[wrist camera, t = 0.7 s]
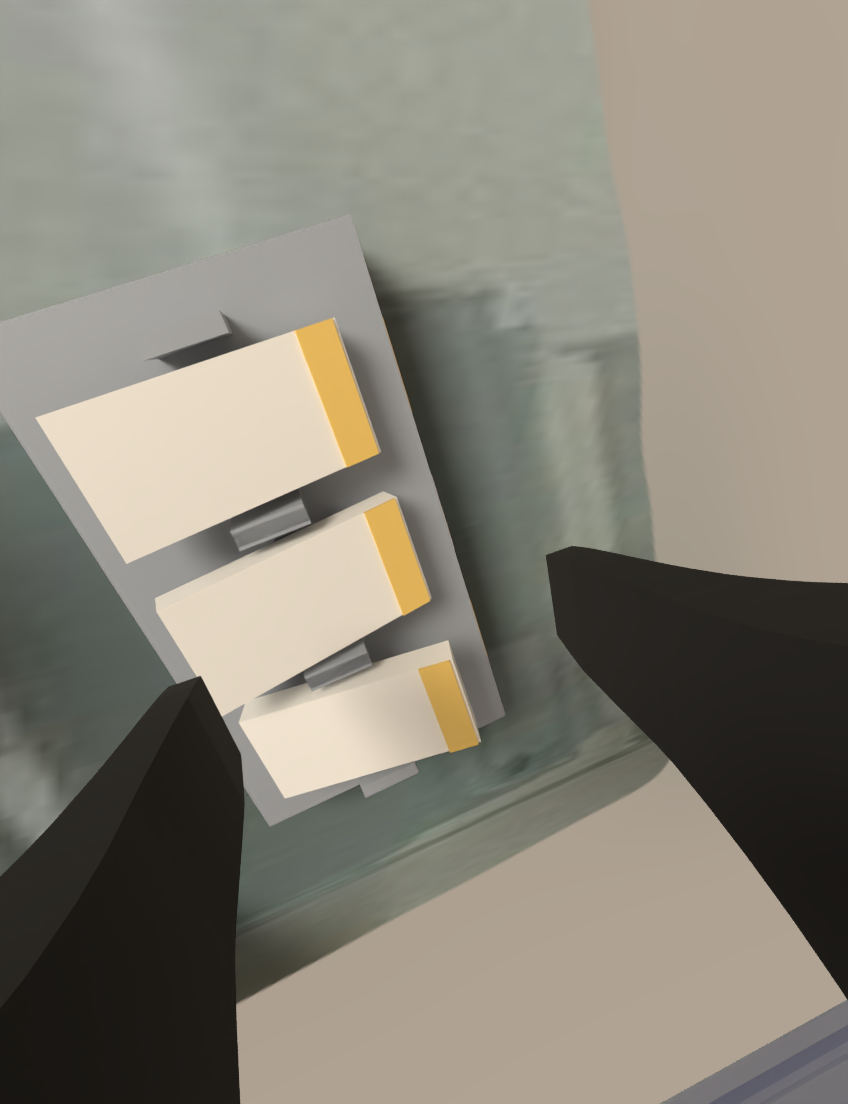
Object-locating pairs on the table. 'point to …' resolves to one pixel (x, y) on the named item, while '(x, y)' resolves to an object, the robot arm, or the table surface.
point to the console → (399, 469)
